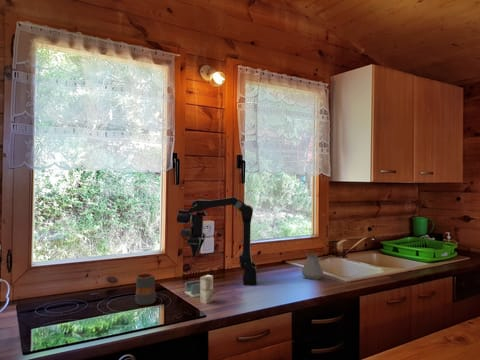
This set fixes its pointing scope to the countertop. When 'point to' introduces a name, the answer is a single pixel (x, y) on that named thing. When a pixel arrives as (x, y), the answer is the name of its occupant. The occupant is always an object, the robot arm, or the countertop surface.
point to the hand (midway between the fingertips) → (195, 254)
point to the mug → (145, 289)
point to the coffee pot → (313, 266)
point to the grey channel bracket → (192, 288)
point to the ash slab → (206, 289)
